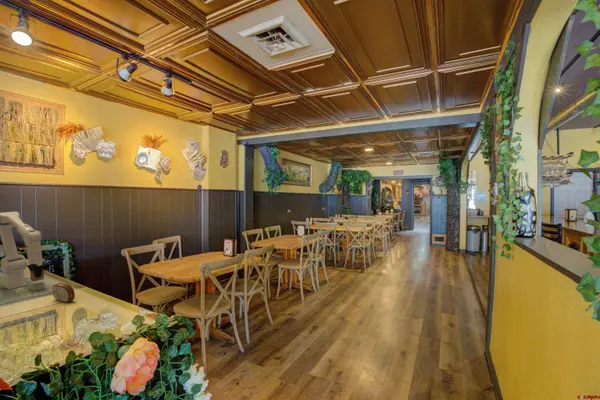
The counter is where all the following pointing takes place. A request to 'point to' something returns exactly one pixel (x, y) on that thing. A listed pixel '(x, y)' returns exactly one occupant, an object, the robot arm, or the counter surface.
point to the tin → (63, 292)
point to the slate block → (37, 286)
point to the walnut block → (35, 277)
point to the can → (27, 271)
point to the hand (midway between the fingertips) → (36, 276)
